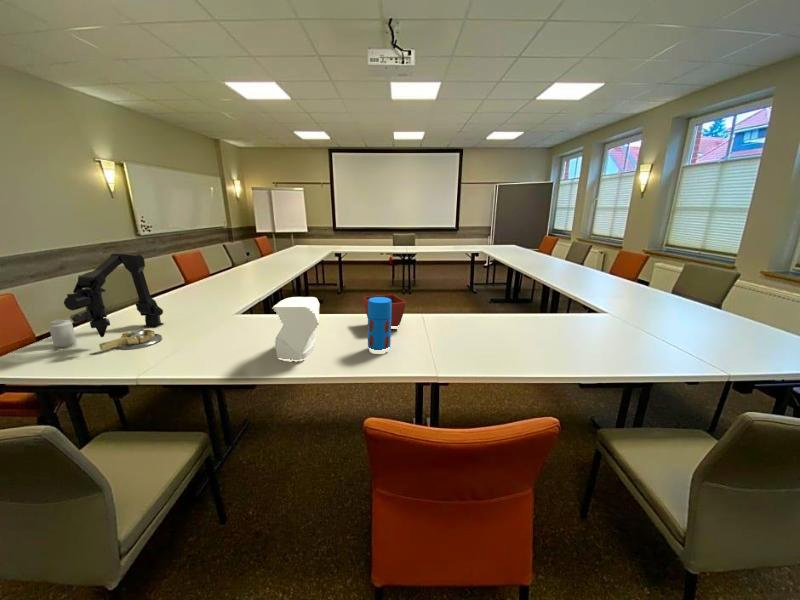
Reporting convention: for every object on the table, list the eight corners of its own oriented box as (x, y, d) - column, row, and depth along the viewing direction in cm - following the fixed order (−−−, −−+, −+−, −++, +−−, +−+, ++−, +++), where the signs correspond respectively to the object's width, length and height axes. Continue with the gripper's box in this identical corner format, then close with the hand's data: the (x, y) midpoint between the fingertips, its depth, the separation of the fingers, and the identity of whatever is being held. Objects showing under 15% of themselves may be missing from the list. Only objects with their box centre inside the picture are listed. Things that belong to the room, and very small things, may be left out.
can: (62, 349, 148) (56, 323, 145) (49, 347, 150) (43, 322, 147) (81, 342, 156) (75, 318, 152) (68, 341, 157) (62, 317, 154)
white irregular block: (266, 364, 140) (261, 306, 133) (293, 340, 166) (290, 291, 159) (314, 368, 138) (312, 309, 131) (334, 344, 164) (333, 293, 157)
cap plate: (137, 334, 168) (135, 324, 166) (171, 336, 166) (169, 326, 165) (104, 348, 150) (101, 337, 149) (141, 350, 149) (139, 339, 148)
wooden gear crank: (145, 333, 166) (144, 326, 165) (159, 337, 161) (158, 330, 160) (94, 347, 148) (92, 339, 147) (108, 352, 143) (107, 345, 142)
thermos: (378, 356, 151) (379, 304, 144) (363, 350, 158) (363, 299, 151) (394, 350, 159) (396, 300, 152) (379, 343, 166) (380, 295, 159)
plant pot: (362, 323, 194) (362, 296, 190) (392, 320, 201) (393, 294, 197) (372, 335, 177) (373, 305, 173) (405, 331, 184) (406, 302, 180)
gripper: (68, 302, 146) (76, 335, 150) (70, 312, 134) (79, 347, 138) (102, 298, 154) (108, 329, 158) (106, 307, 141) (113, 341, 145)
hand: (102, 336), depth 150 cm, fingers closed
